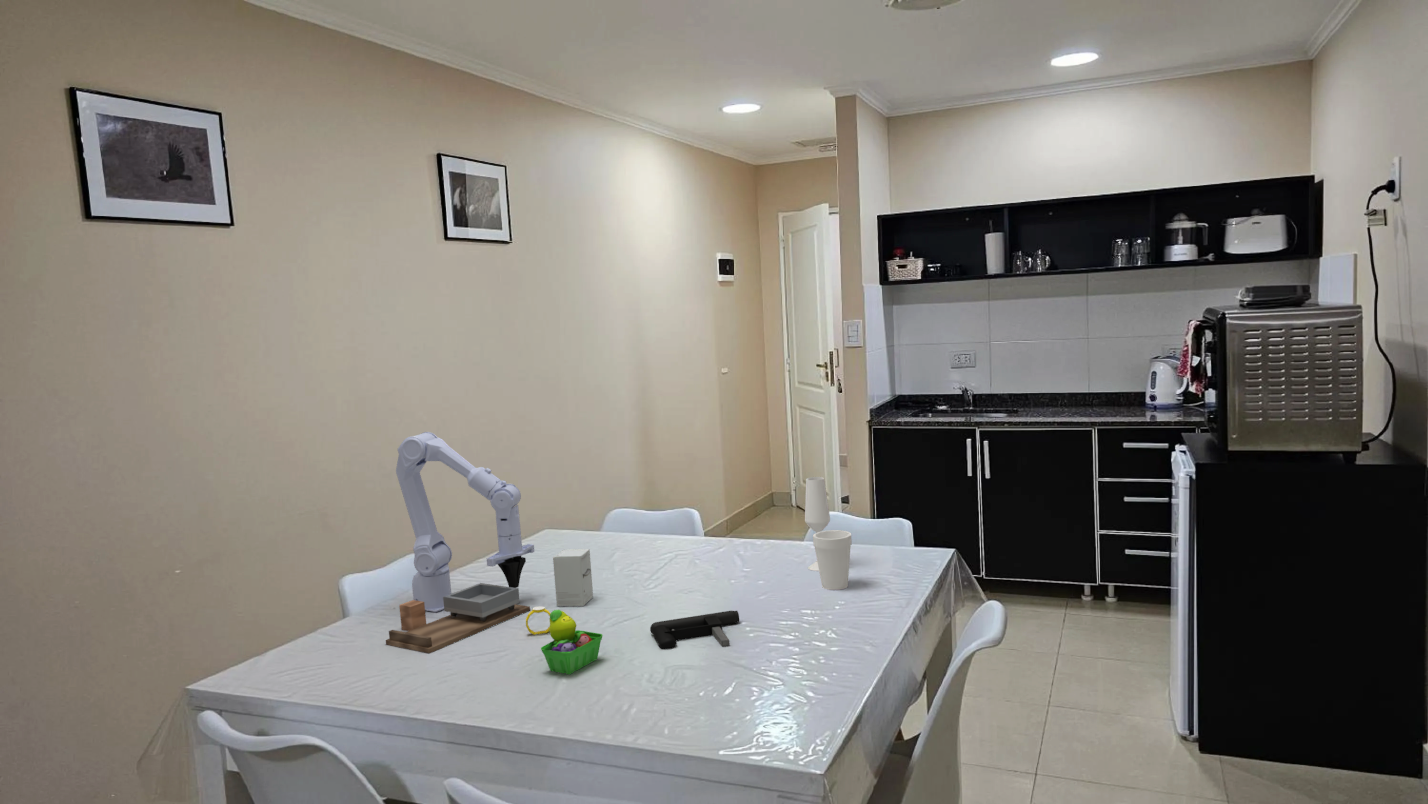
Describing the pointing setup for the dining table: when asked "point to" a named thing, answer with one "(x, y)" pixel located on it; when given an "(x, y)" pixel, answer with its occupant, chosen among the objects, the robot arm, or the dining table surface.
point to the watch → (537, 610)
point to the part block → (412, 615)
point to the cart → (481, 600)
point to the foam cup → (833, 558)
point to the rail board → (448, 630)
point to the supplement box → (573, 577)
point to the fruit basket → (569, 645)
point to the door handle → (693, 628)
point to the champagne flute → (816, 508)
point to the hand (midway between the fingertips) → (513, 587)
